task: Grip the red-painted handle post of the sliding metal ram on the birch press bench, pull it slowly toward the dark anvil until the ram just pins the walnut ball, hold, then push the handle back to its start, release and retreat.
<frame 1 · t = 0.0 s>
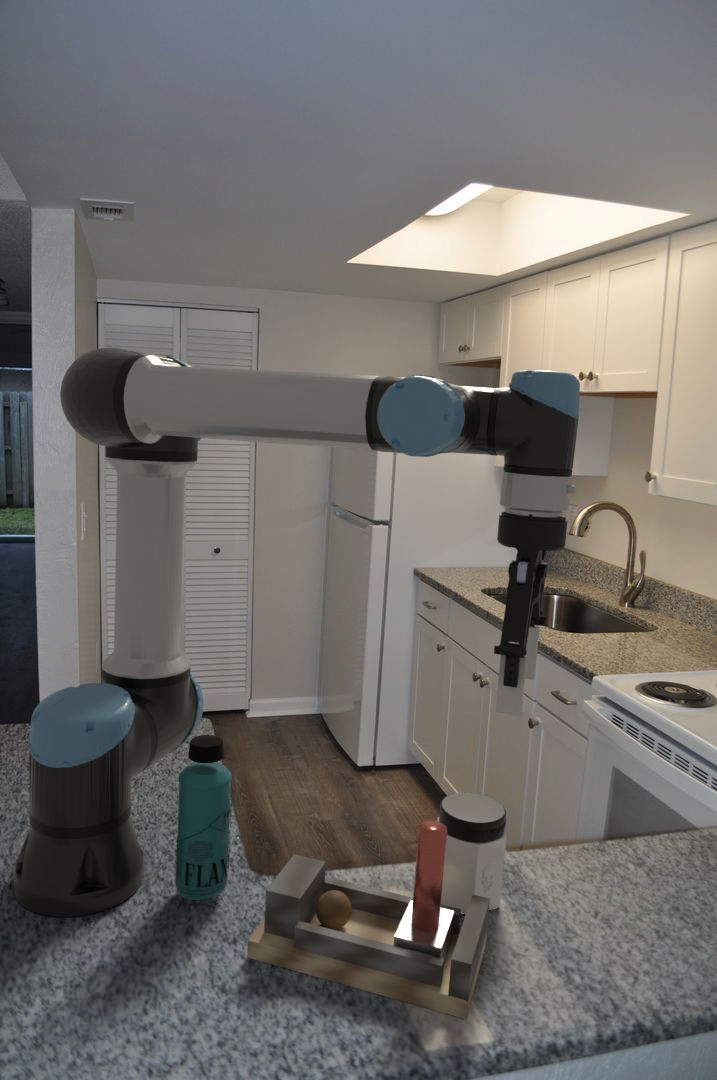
hand: (516, 694, 94), 28 cm above the countertop, fingers open, 13 cm apart
beverage bottle: (200, 897, 98), on the countertop
jar: (464, 898, 102), on the countertop
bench: (369, 952, 90), on the countertop
nut: (332, 925, 91), point 2 cm above the countertop, touching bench
ram: (428, 888, 87), point 9 cm above the countertop, slide at 0.0 cm
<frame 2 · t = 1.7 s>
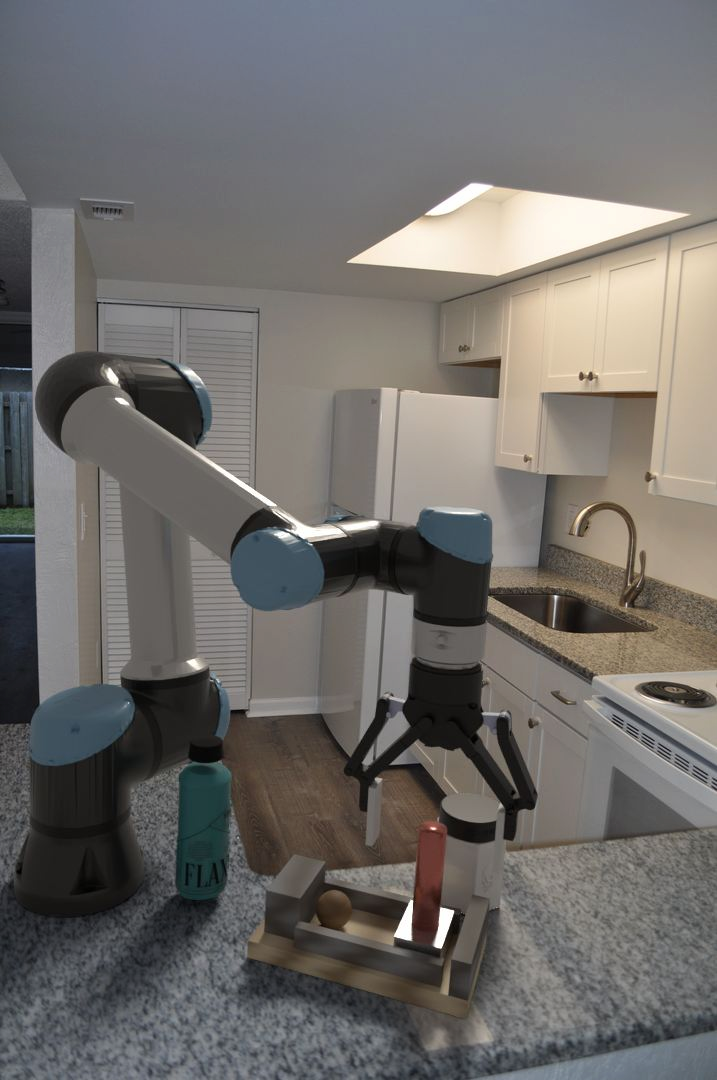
hand: (433, 853, 86), 13 cm above the countertop, fingers open, 13 cm apart
nothing on the countertop moved.
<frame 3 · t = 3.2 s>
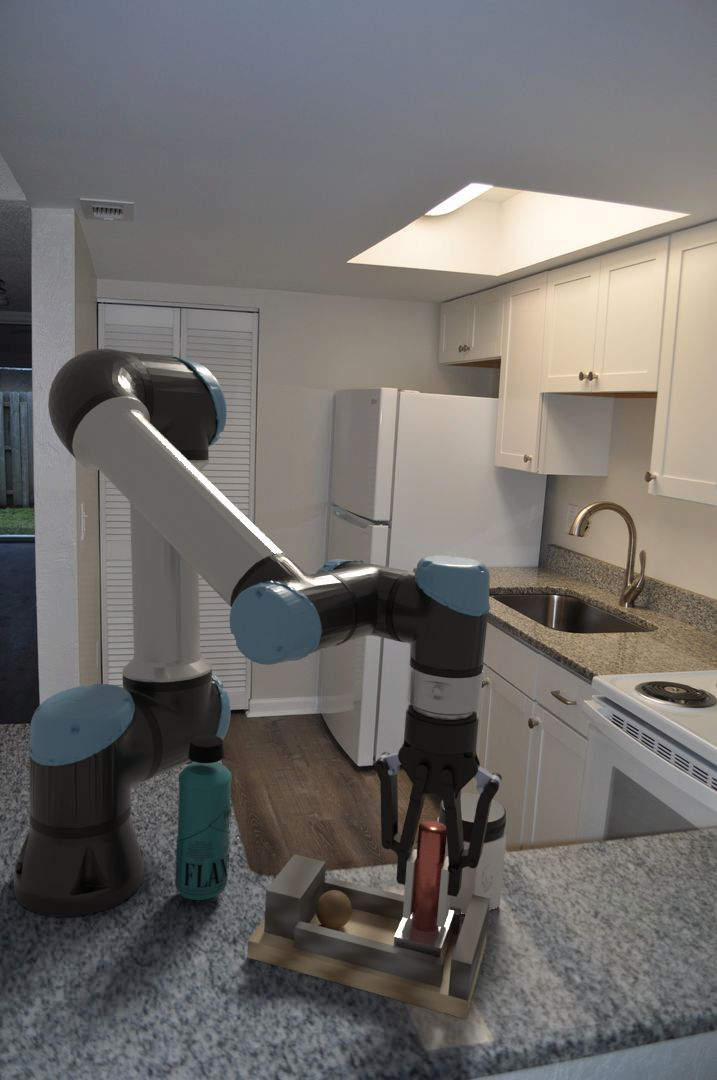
hand: (425, 915, 87), 6 cm above the countertop, fingers closed on ram, 3 cm apart
ram: (428, 888, 87), point 9 cm above the countertop, slide at 0.0 cm, touching gripper
everything else where it was.
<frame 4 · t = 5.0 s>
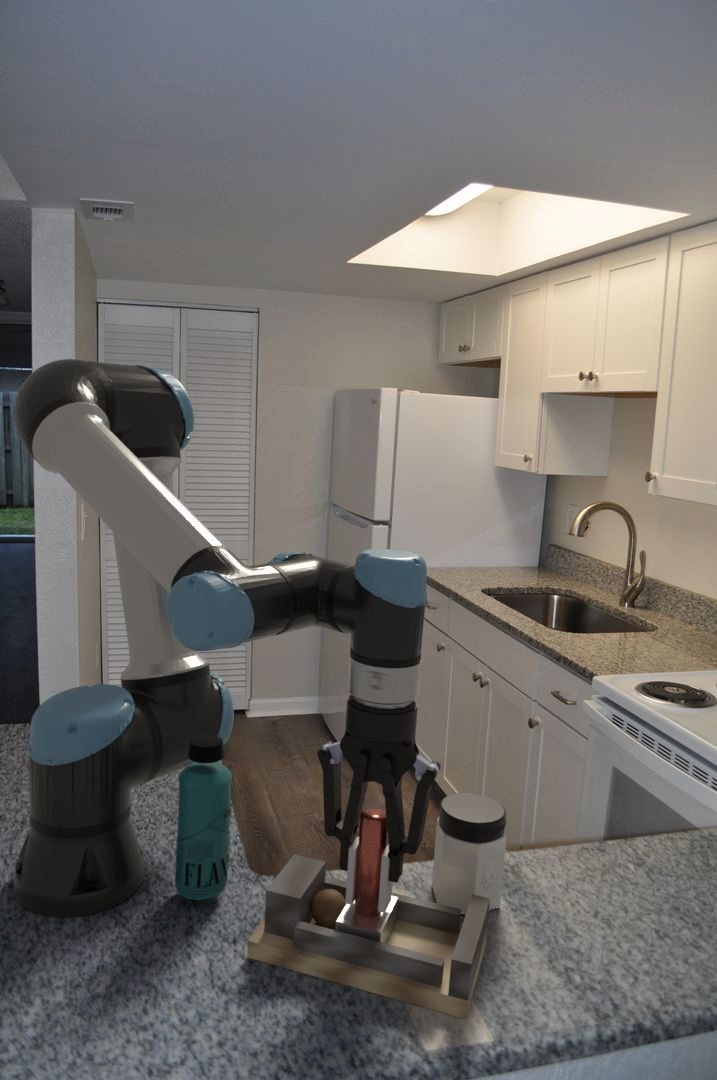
hand: (368, 901, 89), 6 cm above the countertop, fingers closed on ram, 3 cm apart
nut: (332, 925, 91), point 2 cm above the countertop, tilted 16°, touching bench
ram: (370, 875, 89), point 9 cm above the countertop, slide at 6.5 cm, touching gripper
everything else where it was.
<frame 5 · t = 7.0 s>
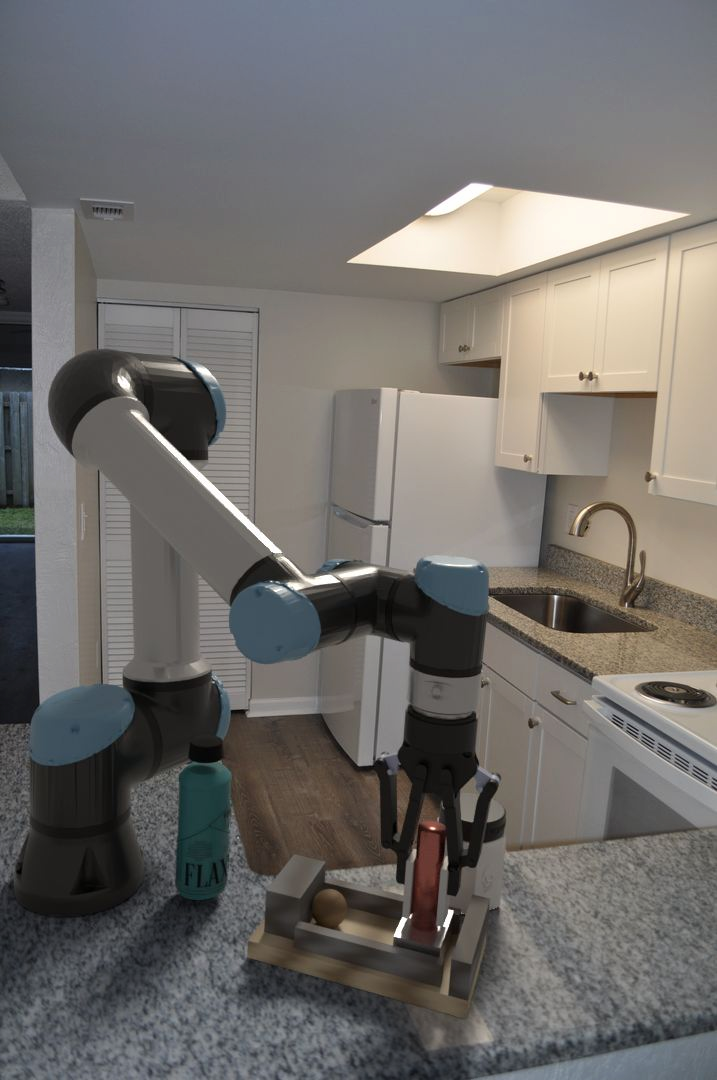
hand: (425, 914, 87), 6 cm above the countertop, fingers closed on ram, 3 cm apart
ram: (427, 888, 87), point 9 cm above the countertop, slide at 0.1 cm, touching gripper
everything else where it was.
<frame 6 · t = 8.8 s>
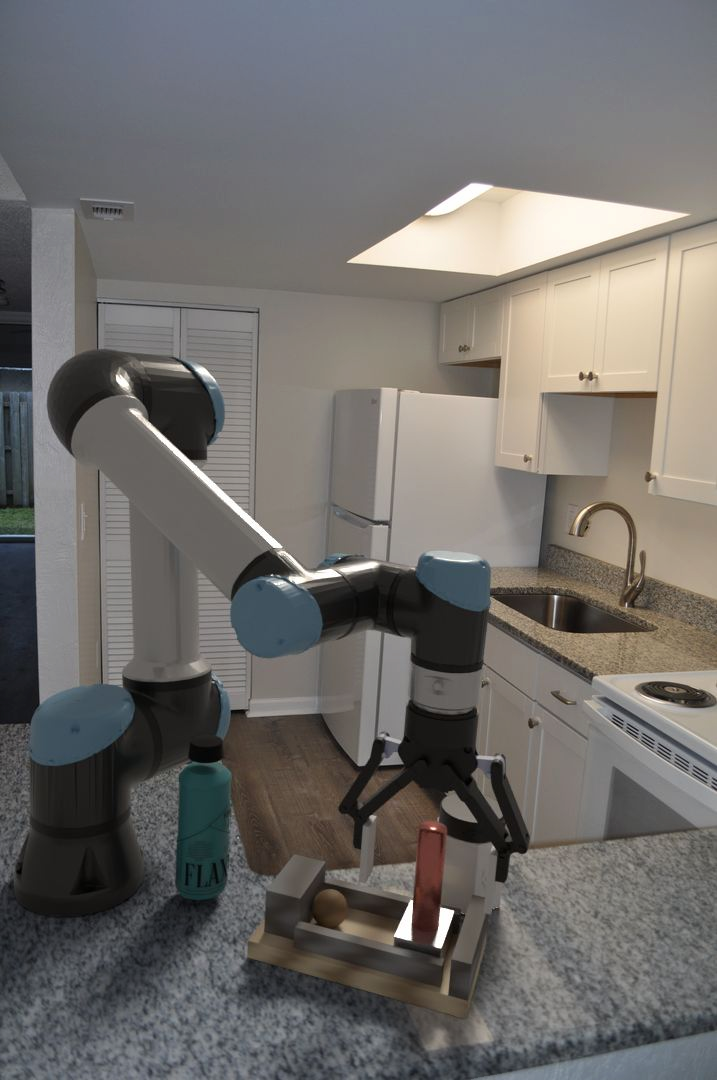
hand: (426, 891, 87), 9 cm above the countertop, fingers open, 13 cm apart
ram: (427, 888, 87), point 9 cm above the countertop, slide at 0.0 cm
everything else where it was.
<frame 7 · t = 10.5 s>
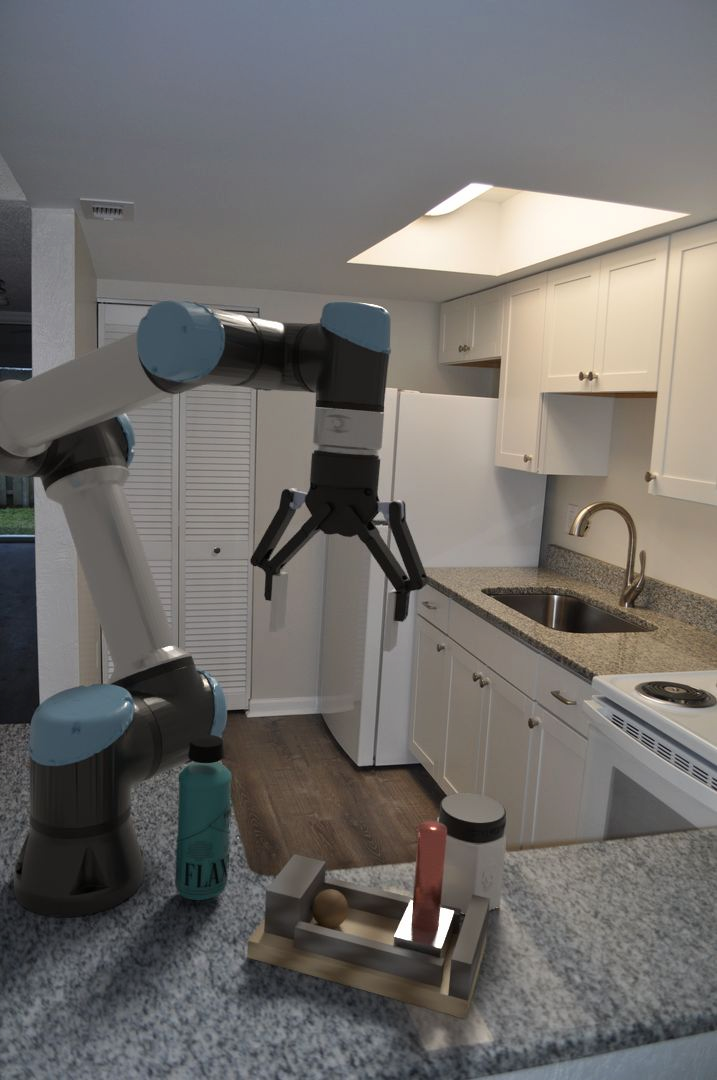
hand: (332, 638, 92), 34 cm above the countertop, fingers open, 13 cm apart
nothing on the countertop moved.
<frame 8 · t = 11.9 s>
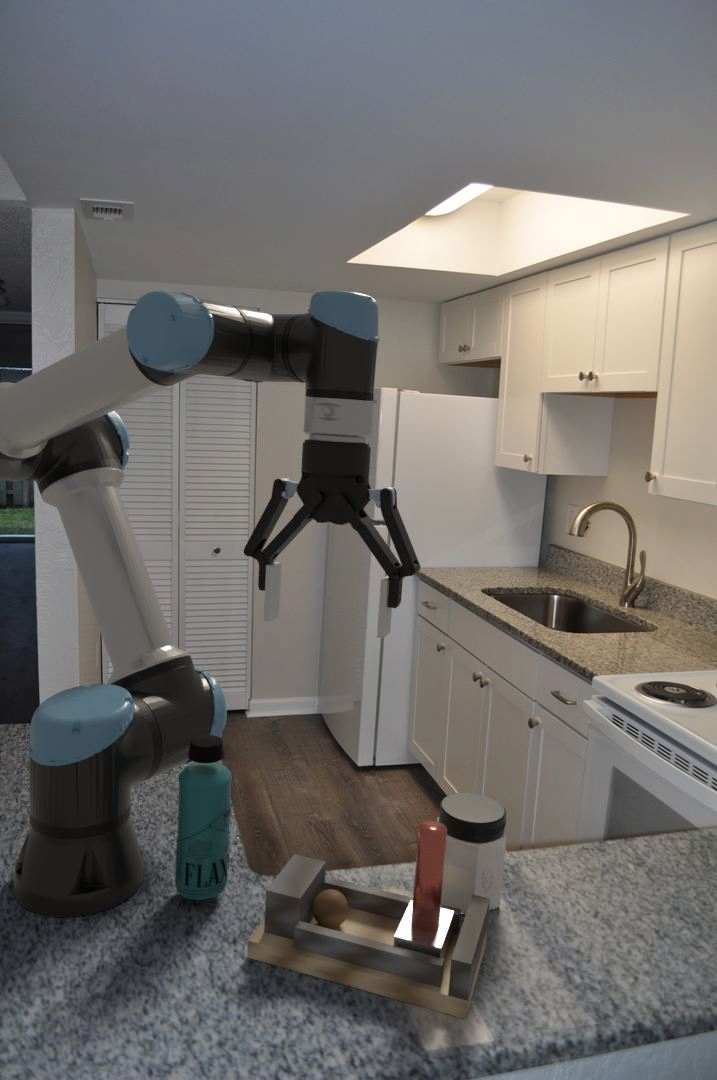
hand: (326, 627, 92), 35 cm above the countertop, fingers open, 13 cm apart
nothing on the countertop moved.
at the end: ram slide at 0.0 cm; nut 0.3 cm from the target spot on the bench, point 2.0 cm above the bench's base; the gripper is holding nothing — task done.
